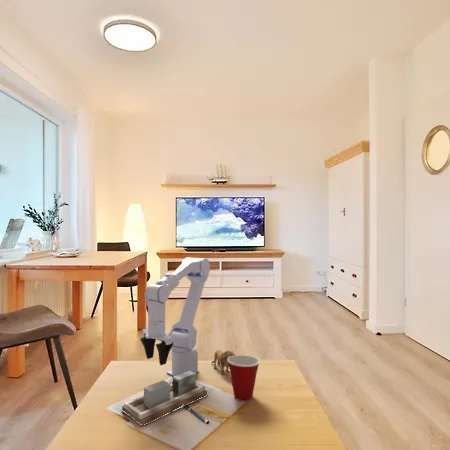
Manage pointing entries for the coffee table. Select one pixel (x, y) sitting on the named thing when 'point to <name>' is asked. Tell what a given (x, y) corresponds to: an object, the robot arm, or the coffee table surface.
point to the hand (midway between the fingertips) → (156, 361)
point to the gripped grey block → (156, 394)
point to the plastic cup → (243, 375)
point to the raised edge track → (179, 395)
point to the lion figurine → (222, 360)
